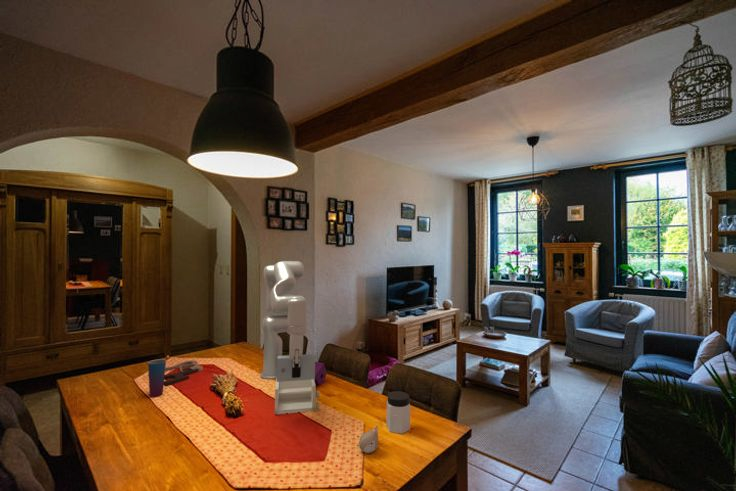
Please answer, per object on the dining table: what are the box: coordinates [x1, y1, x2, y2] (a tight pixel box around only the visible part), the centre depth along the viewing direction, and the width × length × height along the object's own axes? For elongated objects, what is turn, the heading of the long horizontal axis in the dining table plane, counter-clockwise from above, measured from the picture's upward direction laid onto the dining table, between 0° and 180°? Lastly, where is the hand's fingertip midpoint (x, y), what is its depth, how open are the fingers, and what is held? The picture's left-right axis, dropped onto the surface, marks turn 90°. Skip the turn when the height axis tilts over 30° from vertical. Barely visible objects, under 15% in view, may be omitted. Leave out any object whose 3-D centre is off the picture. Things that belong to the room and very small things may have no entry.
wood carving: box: [163, 360, 204, 387], centre depth 180 cm, size 28×2×24 cm
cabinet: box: [274, 378, 321, 415], centre depth 142 cm, size 14×18×10 cm
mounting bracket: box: [314, 361, 327, 386], centre depth 166 cm, size 10×9×19 cm
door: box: [276, 353, 316, 382], centre depth 134 cm, size 4×15×9 cm, turn 103°
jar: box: [386, 390, 411, 435], centre depth 126 cm, size 9×8×12 cm
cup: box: [147, 358, 167, 398], centre depth 152 cm, size 7×7×15 cm
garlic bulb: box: [358, 424, 379, 454], centre depth 111 cm, size 7×6×8 cm
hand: (296, 375), depth 135 cm, fingers closed on door, 3 cm apart
